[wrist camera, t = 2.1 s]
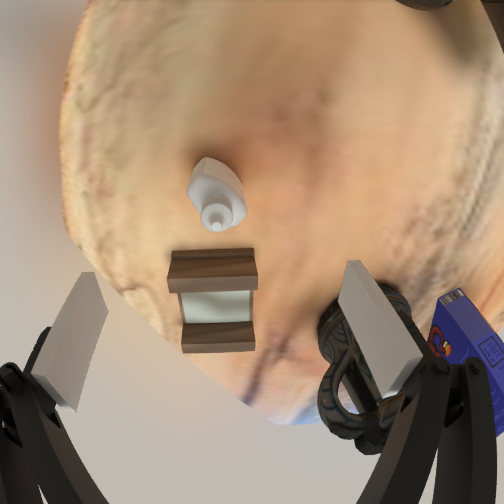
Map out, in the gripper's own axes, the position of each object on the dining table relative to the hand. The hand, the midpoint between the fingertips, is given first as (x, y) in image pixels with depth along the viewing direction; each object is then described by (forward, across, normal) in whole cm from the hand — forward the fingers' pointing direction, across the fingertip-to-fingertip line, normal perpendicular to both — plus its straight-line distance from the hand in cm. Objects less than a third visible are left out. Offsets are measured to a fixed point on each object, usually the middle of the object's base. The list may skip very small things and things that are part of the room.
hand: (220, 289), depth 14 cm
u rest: (+19, -1, -16) cm, 25 cm away
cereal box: (+19, +46, -31) cm, 58 cm away
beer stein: (+19, +21, -24) cm, 37 cm away
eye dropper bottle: (+19, 0, 0) cm, 19 cm away
